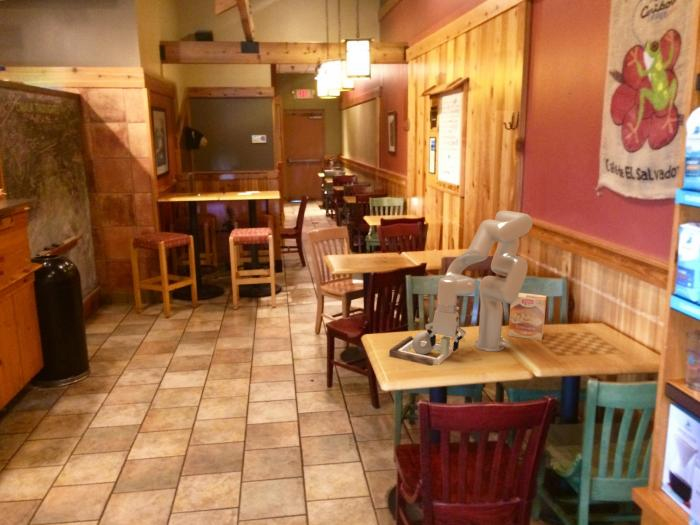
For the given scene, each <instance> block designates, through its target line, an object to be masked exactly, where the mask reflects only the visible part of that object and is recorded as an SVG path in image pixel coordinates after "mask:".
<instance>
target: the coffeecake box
mask: <svg viewBox="0 0 700 525" xmlns="http://www.w3.org/2000/svg"><path fill="white" fill-rule="evenodd" d="M546 304H547V295H542V294H533V293H524V292H520V293H519V295H518V297H517V299H516V300H515V301H514V302H513V303H510V308H509V321H508V322H509V324H508V334H507V336H508V337H515V338H521V339H528V340H529V339H530V340H537V341H542V339H543V337H544V327H545V316H546V306H547V305H546Z"/></svg>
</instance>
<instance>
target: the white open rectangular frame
mask: <svg viewBox="0 0 700 525" xmlns="http://www.w3.org/2000/svg"><path fill="white" fill-rule="evenodd" d="M450 340H451V338H450V336H445V335H443V336H442V337H441V338H440V343H441V345H440V344H435V345H434V347H433V349H432V350H435V351H439V352H440V353H439V356H437V357H434V356H428V355H426V354H418V353H416V352H410V351H409V350H411V349H412V348H413V347H412V341H413V340H412V341H410V342H409V343H407V344H406V345H405V346H403V347H402V348H400V349H399V350H398V352H402V353H407V354H411V355H416V356H420V357H425V358H429V359H433V365H438V366H439V365H440V364H442V363H443V362H444V361H445V360H446V359H448V357H450V356H451V355H452V354H453V352H454V351H453V347H452V346H451V345H450V343H451V342H450ZM426 344H427V342H425V341H421V342H420V346H422V347H423V346H425V345H426ZM449 345H450V346H449Z"/></svg>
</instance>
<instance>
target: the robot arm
mask: <svg viewBox="0 0 700 525" xmlns="http://www.w3.org/2000/svg"><path fill="white" fill-rule="evenodd" d="M532 227H533V219H532V217H531V215H529V214H527V213H523V212H520V211H519V212H517V211H511V210H500V211H497V213H496V214H495V216H494V219H489V218H488V219H485V220H483V221H482V222H481V223H480V224H479V227H478V229H477V231H476V233H475V234H474V237H473V239H472V241H471V243H470V244H469V247H468V249H467V250H466V251H464V252H462V253H461V254H459V255H458V256H457V257H456V258H455V259H454V260H453V261H452V262H451V263H450V265H449V266H448V267H447V270H446V273H445V275H444V277H441V278H439V281H438V287H437V288H438V292H437V308H436V309H435V311H434V317H433V320H432V322H429V323H426V324H425V325H424V327H425V329H426V332H428V333H429V335H430V337H431V341H430V343H431V346H434V345H435V344H436V342H437V339H436V338H437V335H441V336H447V337H452V339H453V340H454V341H453V344H452V345H453V347H452V348H453V352H456V351H458V349H459V347H460V346H459V344H460V341H461V340H462V339H463V338H464V337H465V336H466V334H467V332H466V331H465V330H464V329H463V328H461V327H460V320H459V312H458V311H460V307H459V306H458V304H457V300H458V299H457V298H458V297H457V296H469V295H472V294H474V292H476V289H477V283H476V281H475V280H474V279H473V278H471V277H470V276H466V275H463V274H462V273H463V271H464V270H465V269H466V268H467V267H469V266H471V265H473V264H476V263H480V262H483V261H485V260H488V257H489V255H490V253H491V251H492V249H493V247H494V245H495V243H496V242H498V243H497V246H496V249H495V252H494V255H493V257H492V259H491V264H490V269H491V271H492V272H493V273H495V274H496V275H497V274H498V275H500V276H504V277H506V278H503V277H498V276H494V275H487V276H486V275H485V276H483V278H482V279H481V280H480V281H479V285H478V289H479V290H478V291H479V292H478V293H479V298H480V311H479V322H478V323H479V325H478V338H477V339H478V340H476V341H475V342H474V348H477V350H480V351H485V352H490V353H491V352H500V351H502V350H504V348H511V343H510V341H508V340H504V337H503V336H502V330H503V328H502V327H503V317H504V316H503V314H504V308H503V307H504V306H503V304H509V305H511V303H513V302H514V301H515V300H516V299H517V297H518V295H519V293H521V290H522V287H523V284H524V282H525V279H526V277H527V273H528V266H529V265H528V263H527V259H525V258H524V257H523V256H519V255H517V253H518V250H519V247H520V239H519V238H520V237H522V236H524V235H526V234H527V233H529V231H531V229H532ZM431 327H432V328H431ZM436 334H437V335H436ZM459 334H460V335H459Z"/></svg>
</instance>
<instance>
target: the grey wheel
mask: <svg viewBox="0 0 700 525" xmlns="http://www.w3.org/2000/svg"><path fill="white" fill-rule="evenodd" d="M413 338H414V339H413V341H412V348H413V351H414V353H415V354H420V355H427V354H430V353H431V351H432V350H433V347H434V346H431V343H430V341H431V337H430V335H429V333H428V332H427V331H420V332H418V333H416V335H415V336H414V337H413ZM422 340H426V341H427V344H426V345H425V346H423V347H422V346H420V342H421V341H422Z"/></svg>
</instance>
